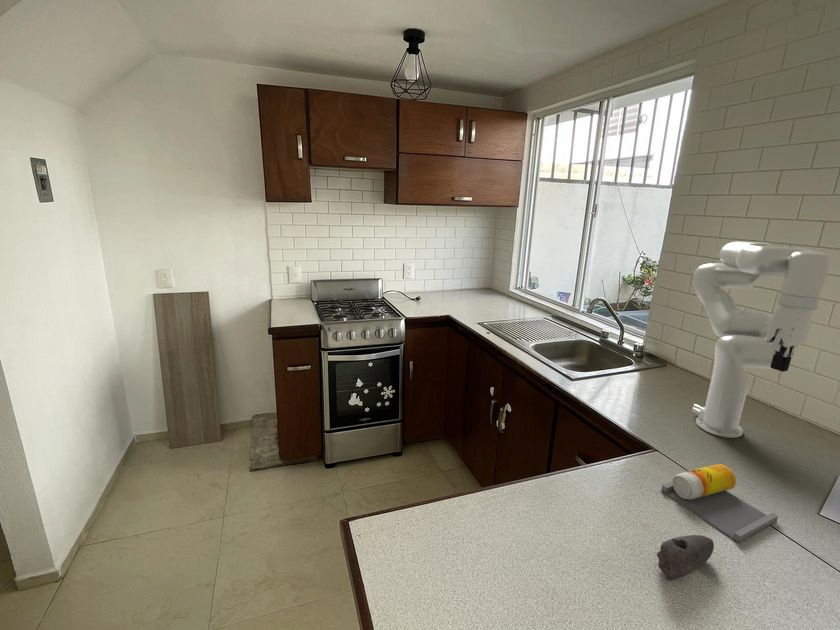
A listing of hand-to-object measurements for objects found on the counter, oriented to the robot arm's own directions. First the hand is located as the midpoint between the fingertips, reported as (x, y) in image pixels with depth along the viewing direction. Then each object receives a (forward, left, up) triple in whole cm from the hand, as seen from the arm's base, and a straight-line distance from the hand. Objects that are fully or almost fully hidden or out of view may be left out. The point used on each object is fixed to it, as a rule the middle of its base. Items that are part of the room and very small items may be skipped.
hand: (778, 369), depth 109 cm
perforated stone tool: (+14, -51, -29) cm, 60 cm away
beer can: (+3, -17, -26) cm, 31 cm away
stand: (+6, -27, -29) cm, 40 cm away
